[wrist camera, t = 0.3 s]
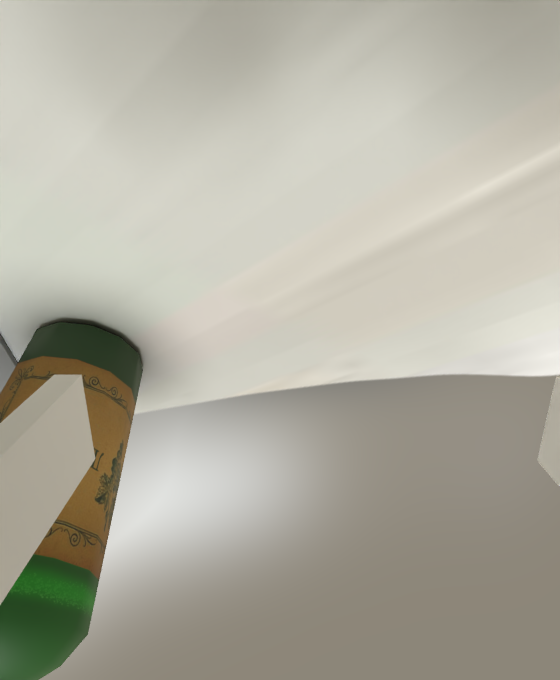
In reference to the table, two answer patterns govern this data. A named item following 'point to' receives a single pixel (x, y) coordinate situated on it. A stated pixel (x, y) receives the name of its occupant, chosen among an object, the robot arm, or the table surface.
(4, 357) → the mat
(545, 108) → the table surface
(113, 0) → the table surface
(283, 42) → the table surface
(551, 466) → the robot arm
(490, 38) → the table surface
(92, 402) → the bottle
